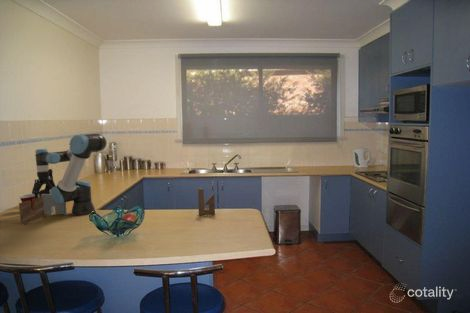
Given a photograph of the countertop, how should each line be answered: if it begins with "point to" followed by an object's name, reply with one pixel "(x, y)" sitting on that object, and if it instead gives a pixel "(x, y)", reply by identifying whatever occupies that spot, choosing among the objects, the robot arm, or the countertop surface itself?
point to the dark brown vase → (47, 189)
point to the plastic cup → (28, 198)
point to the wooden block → (206, 203)
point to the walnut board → (30, 214)
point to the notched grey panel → (49, 205)
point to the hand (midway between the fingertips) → (45, 200)
